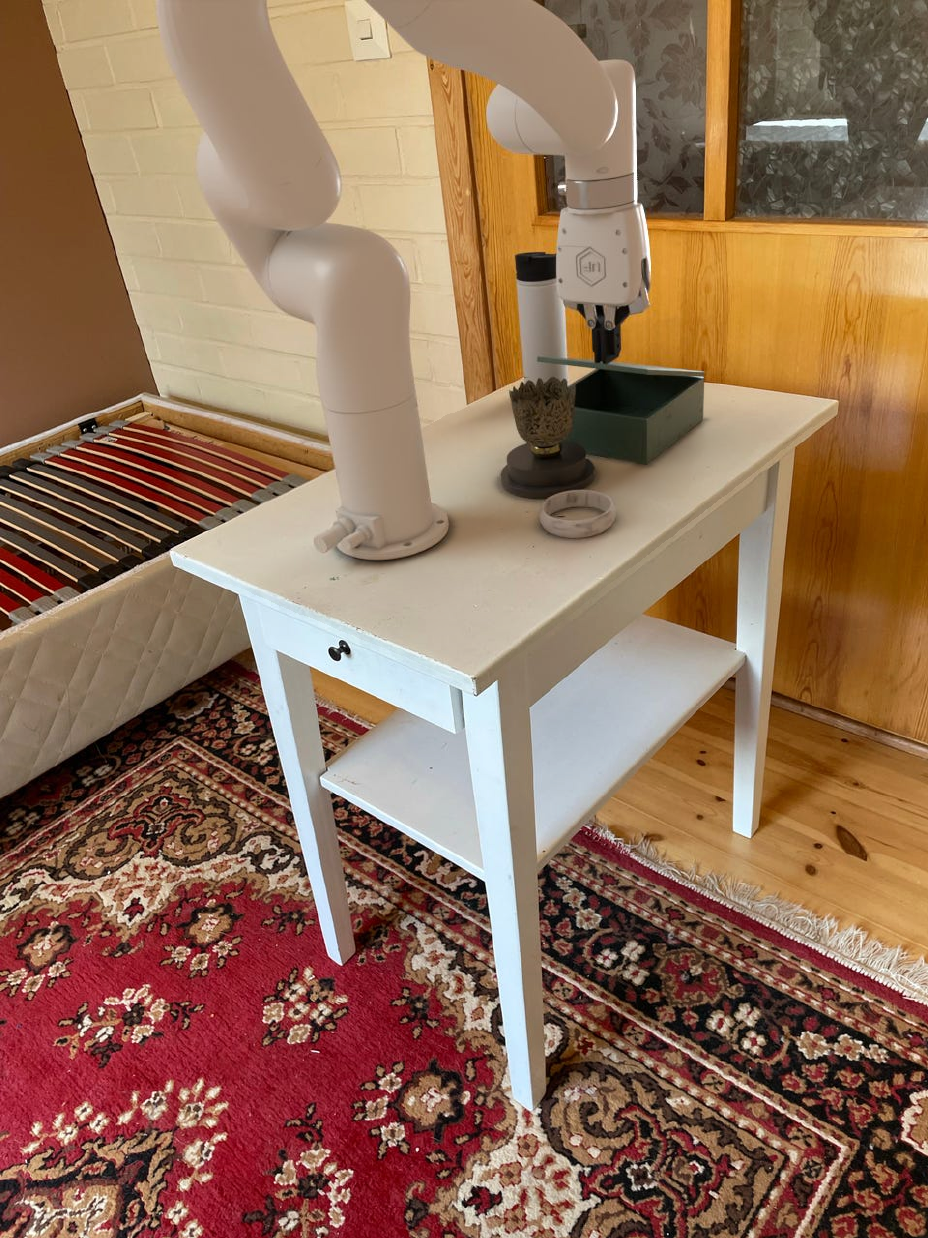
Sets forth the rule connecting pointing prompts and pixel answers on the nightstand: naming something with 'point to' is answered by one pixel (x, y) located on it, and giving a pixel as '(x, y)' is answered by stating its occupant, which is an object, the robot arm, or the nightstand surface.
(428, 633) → the nightstand surface
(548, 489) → the stand
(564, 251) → the robot arm
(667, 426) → the tin
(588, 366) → the tin lid
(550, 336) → the travel mug
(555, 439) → the cup
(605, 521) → the ring
